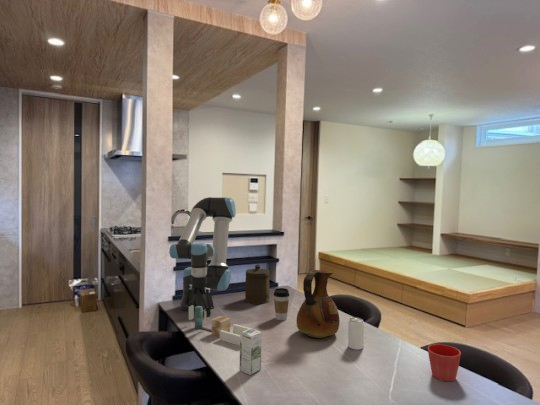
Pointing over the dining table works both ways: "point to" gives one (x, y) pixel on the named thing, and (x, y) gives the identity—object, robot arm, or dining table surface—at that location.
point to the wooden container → (257, 285)
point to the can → (356, 333)
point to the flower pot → (444, 361)
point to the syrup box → (250, 351)
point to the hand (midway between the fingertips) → (198, 321)
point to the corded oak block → (217, 323)
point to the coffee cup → (281, 303)
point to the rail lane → (233, 334)
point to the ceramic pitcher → (317, 307)
